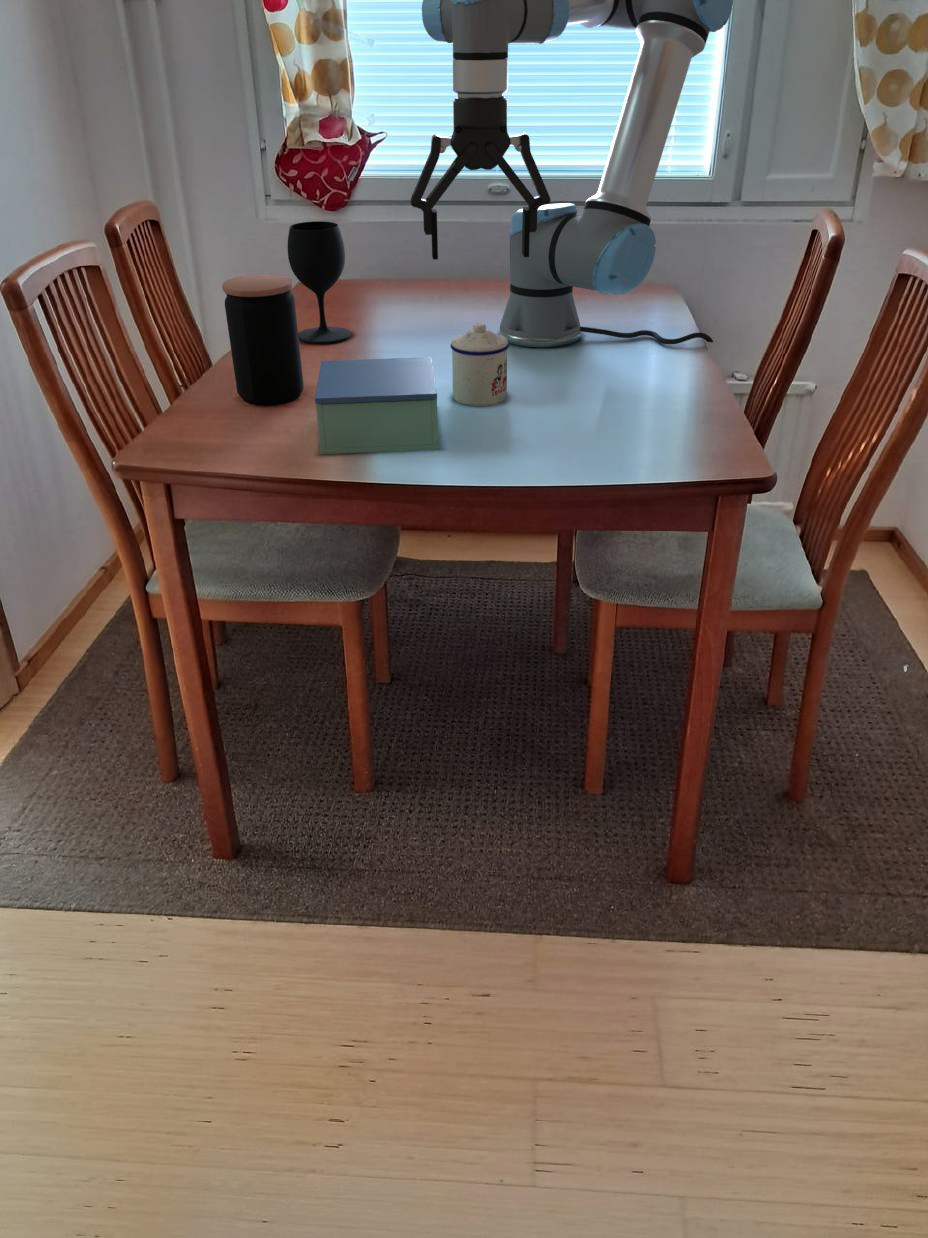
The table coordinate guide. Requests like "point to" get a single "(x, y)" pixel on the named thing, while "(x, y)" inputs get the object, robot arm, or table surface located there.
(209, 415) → the table surface
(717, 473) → the table surface
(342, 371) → the lunchbox lid
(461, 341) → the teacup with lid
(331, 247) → the wine glass
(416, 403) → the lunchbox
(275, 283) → the coffee jar
